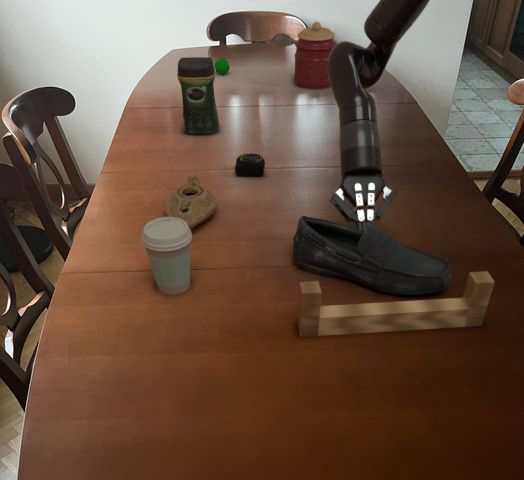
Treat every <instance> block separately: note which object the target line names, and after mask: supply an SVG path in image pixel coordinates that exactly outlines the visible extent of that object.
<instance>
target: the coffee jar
mask: <svg viewBox="0 0 524 480" xmlns="http://www.w3.org/2000/svg"><path fill="white" fill-rule="evenodd" d="M177 62H178V63H177V80H178V83H179V84H180V89H181V97H182V99H181V100H182V128H183V132H184V133H185V134H187V135H189V136H211V135H214V134H216V133H218V132H219V129H220V121H219V115H218V110H217V104H216V96H215V88H214V86H215V85H214V82H215V80H216V79H215V78H216V70H215V66H214V65H215V64H214V61H213V57H210V56H207V57H206V56H202V57H200V56H199V57H198V56H194V57H180V59H179V60H178V61H177Z"/></svg>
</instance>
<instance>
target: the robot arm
mask: <svg viewBox="0 0 524 480" xmlns="http://www.w3.org/2000/svg"><path fill="white" fill-rule="evenodd" d="M430 1H431V0H379V1H378V2H377V4H376V5H375V7H374V8H373V9H372V10H371V12H370V13H369V15H368V16H367V17H366V18H365V21H364V23H363V31H364V33H365V35H366V37H367V38H368V40H369V41H370V42H369V44H368V46H367V47H364V46H361V45H359V44H357V43H354V42H352V41H348V40H344V41H340V42H337V45H335V46H334V48H333V49H332V50H331V52H330V55H329V58H328V63H327V73H328V78H329V82H330V85H331V87H330V88H331V91H332V95H333V97H334V101H335V104H336V107H337V108H338V120H339V142H338V143H339V145H338V146H339V159H340V174H341V175H340V176H341V182H340V184H339V187H338V188H339V189H337V190H336V191H335V192H332V193H331V195H330V196H329V203H331V205H333V207H334V208H335V209H336V210H337V211H338V212H339V213H340V214H341V216H342V217H343V218H344V219H345V220H346V221H347V222H352V223H355V225H356V229H360V230H363V231H365V230H366V229H367V227H368V226H369V224H370V223H372V224H373V225H374V226H375V224H374V222H376V221H380V219H381V218H382V217H383V215H384V214H385V213H386V211H387V210H388V209H389V207H390V206H391V204H392V202H393V201H394V199H395V198H396V197H397V196H398V191H397V190H396V189H390V188H389V187H388V186H387V185H386V181H385V179H384V178H383V166H382V165H383V164H382V150H381V148H382V143H381V139H380V137H381V136H380V131H379V126H378V114H377V103H376V99H375V97H374V96H373V95H372V94H371V93H369V92H368V91H367V90H368V89H370V88H372V86H374V85H375V84H377V82H378V81H379V80H380V79H381V77H382V76H383V74H384V72H385V69H386V68H387V65H388V63H389V62H390V59H391V57H392V55H393V53H394V50H395V48H396V47H397V45H398V43H399V42H400V41H401V40H402V39H403V37H404V36H405V35H406V34H407V32H408V31H409V30H410V28H412V26H413V25H414V24H415V23H416V21H417V20H418V19H419V17H420V16H421V15H422V13H423V12H424V10H425V8H426V7H427V6H428V5H429V2H430ZM381 194H382V196H381ZM380 196H381V199H382V200H383V201H382V203H381V204H380V206H379V208H378V209H377V211H376V212H375V203H376V202H377V200H378V199H379V197H380ZM345 199H346V200H347V201H348V202H349V203H350V204H351V205H352V208H351V207H349V205H348V204H347V203H346V202H345V201H344V200H345Z"/></svg>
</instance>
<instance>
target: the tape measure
mask: <svg viewBox="0 0 524 480" xmlns="http://www.w3.org/2000/svg"><path fill="white" fill-rule="evenodd" d="M265 166H266V161H265V159H264V157H263V156H262V155H261V154H259V153H254V152H251V153H250V152H249V153H247V152H246V153H243V154H240V155H238V157H236V160H235V166H234V172H235V174H236V175H237V176H245V177H246V176H247V177H248V176H249V177H254V176H255V177H256V176H257V177H262V176H264V174H265Z"/></svg>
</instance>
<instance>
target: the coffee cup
mask: <svg viewBox="0 0 524 480" xmlns="http://www.w3.org/2000/svg"><path fill="white" fill-rule="evenodd" d="M192 239H193V234H192V229H190V228H189V227H188V225H187V223H186V222H185V221H184V220H182V219H180V218H176V217H168V216H162V217H158V218H155V219H152V220H150V221H148V222H147V223H146V224H145V225H144V227H143V231H142V234H141V244H142V245H143V246H144V247H145V250H146V254H147V258H148V260H149V263H150V267H151V270H152V274H153V277H154V280H155V282H156V283H155V284H156V287H157V290H158V291H159V292H161V293H162V294H165V295H170V296H171V295H172V296H174V295H179V294H182V293H185V292H186V291H187V290H189V288H190V287H191V254H192V253H191V247H192V245H191V243H192Z"/></svg>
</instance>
